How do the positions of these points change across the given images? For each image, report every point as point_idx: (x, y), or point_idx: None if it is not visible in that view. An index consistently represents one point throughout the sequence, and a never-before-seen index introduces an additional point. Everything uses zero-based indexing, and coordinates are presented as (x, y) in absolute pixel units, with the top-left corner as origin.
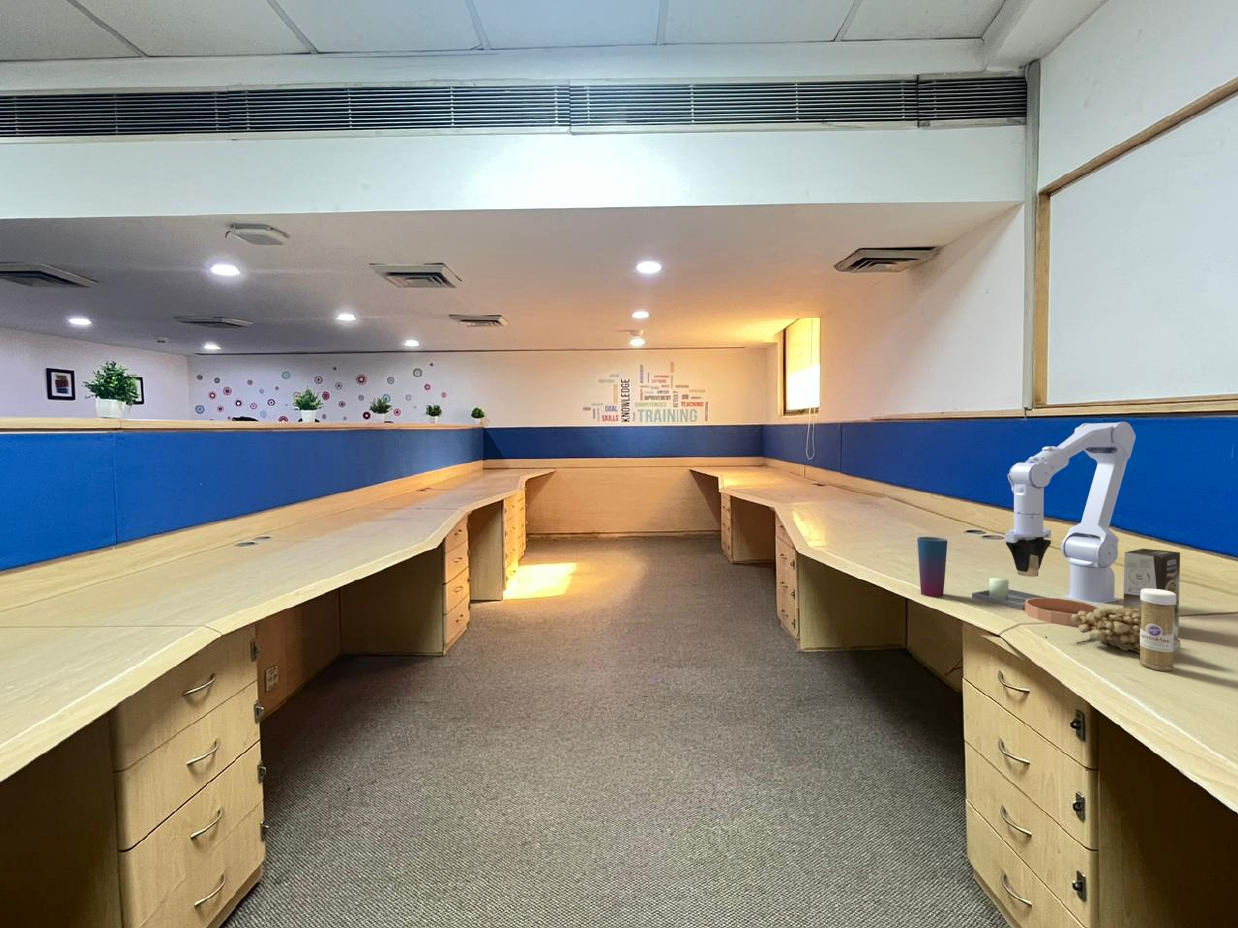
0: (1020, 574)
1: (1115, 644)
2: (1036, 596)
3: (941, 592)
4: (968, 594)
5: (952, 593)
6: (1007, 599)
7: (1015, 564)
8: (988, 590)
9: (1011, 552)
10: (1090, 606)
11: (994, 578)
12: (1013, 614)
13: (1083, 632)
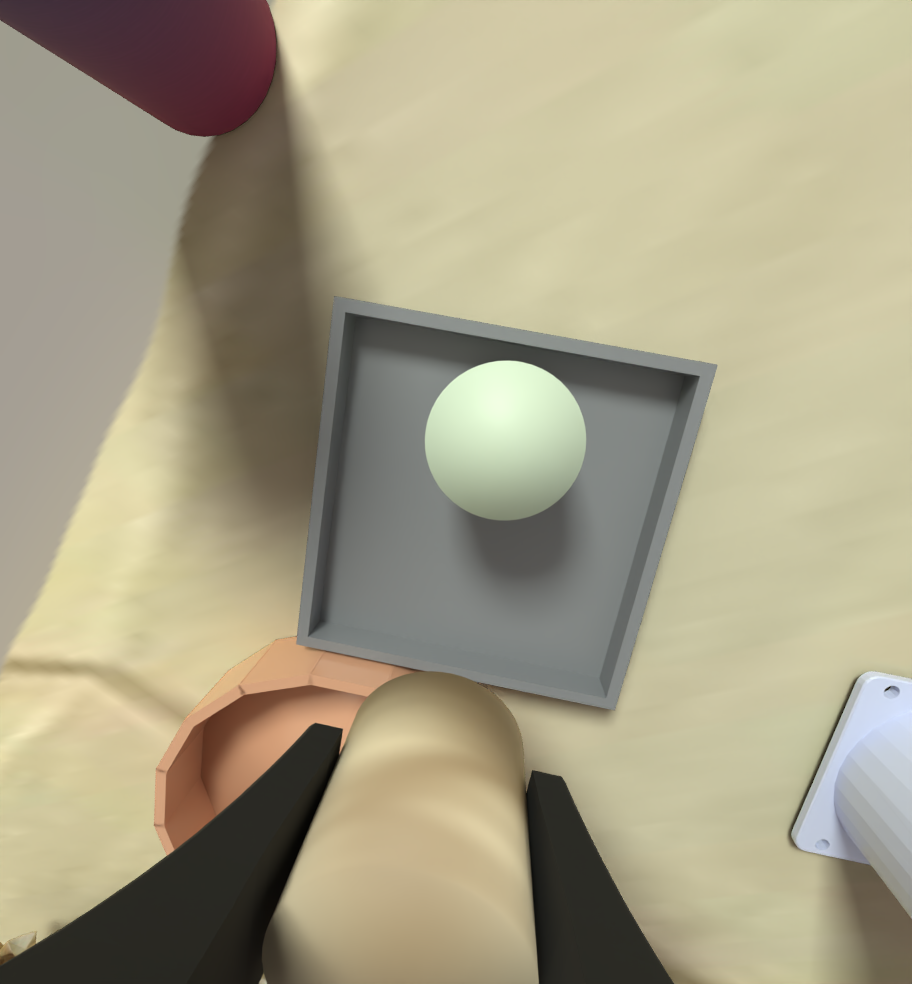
0: (356, 715)
1: None
2: (626, 621)
3: (159, 114)
4: (499, 204)
5: (431, 98)
6: None
7: (274, 764)
8: (524, 343)
9: (112, 900)
10: None
11: (531, 393)
12: (238, 598)
13: (26, 938)
